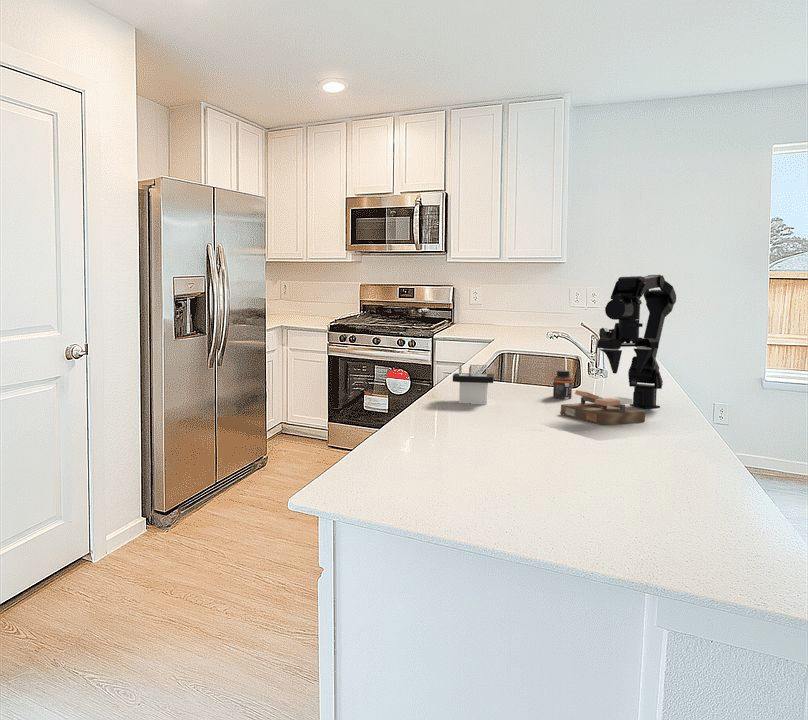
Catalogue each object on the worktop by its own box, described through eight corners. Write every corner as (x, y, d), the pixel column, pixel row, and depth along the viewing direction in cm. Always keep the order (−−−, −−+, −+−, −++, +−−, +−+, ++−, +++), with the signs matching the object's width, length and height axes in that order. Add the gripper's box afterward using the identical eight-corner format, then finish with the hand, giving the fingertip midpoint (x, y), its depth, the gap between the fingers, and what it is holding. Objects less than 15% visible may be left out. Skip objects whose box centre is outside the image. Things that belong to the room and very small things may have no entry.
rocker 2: (617, 403, 171) (618, 396, 171) (633, 406, 166) (633, 399, 166) (593, 406, 167) (593, 399, 167) (608, 409, 162) (608, 402, 162)
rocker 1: (595, 404, 179) (596, 397, 179) (608, 407, 174) (610, 400, 174) (573, 396, 176) (575, 390, 176) (586, 399, 170) (588, 392, 170)
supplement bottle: (572, 406, 193) (573, 371, 192) (553, 405, 194) (554, 371, 193) (570, 403, 199) (571, 370, 198) (552, 402, 200) (553, 369, 199)
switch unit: (599, 411, 182) (600, 395, 182) (644, 421, 166) (645, 404, 166) (559, 414, 176) (560, 397, 176) (602, 425, 160) (603, 407, 159)
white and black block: (515, 401, 201) (517, 363, 200) (518, 414, 175) (519, 370, 174) (434, 398, 206) (435, 360, 205) (424, 411, 180) (425, 367, 179)
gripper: (632, 319, 182) (629, 369, 184) (584, 319, 175) (582, 371, 176) (661, 320, 172) (658, 373, 173) (612, 319, 165) (609, 375, 166)
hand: (626, 373), depth 172 cm, fingers open, 9 cm apart
